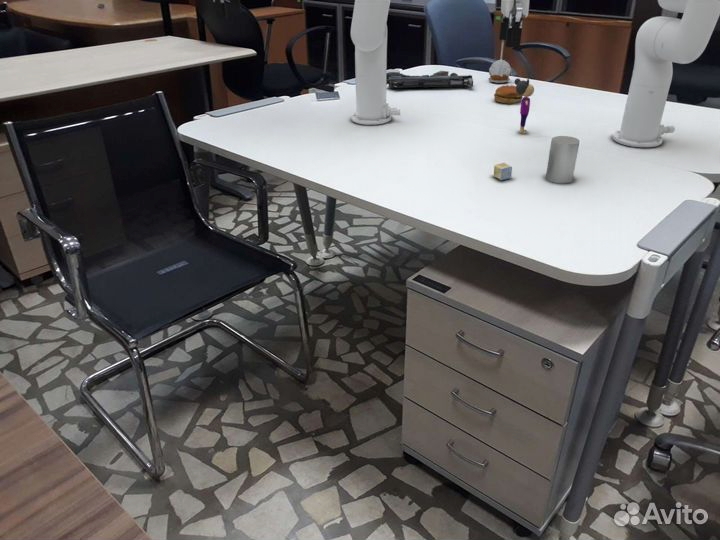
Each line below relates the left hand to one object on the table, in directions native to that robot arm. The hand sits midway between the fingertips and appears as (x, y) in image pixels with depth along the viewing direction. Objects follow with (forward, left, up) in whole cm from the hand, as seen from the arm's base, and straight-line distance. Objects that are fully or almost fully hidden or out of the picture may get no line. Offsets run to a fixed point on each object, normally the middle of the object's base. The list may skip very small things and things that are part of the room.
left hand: (229, 15), depth 170 cm
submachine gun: (-56, -52, -31) cm, 82 cm away
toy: (-87, +6, -31) cm, 93 cm away
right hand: (-80, +29, -3) cm, 86 cm away
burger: (-86, -29, -31) cm, 96 cm away
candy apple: (-83, -57, -31) cm, 106 cm away
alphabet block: (-81, +42, -31) cm, 97 cm away
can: (-95, +41, -31) cm, 108 cm away
